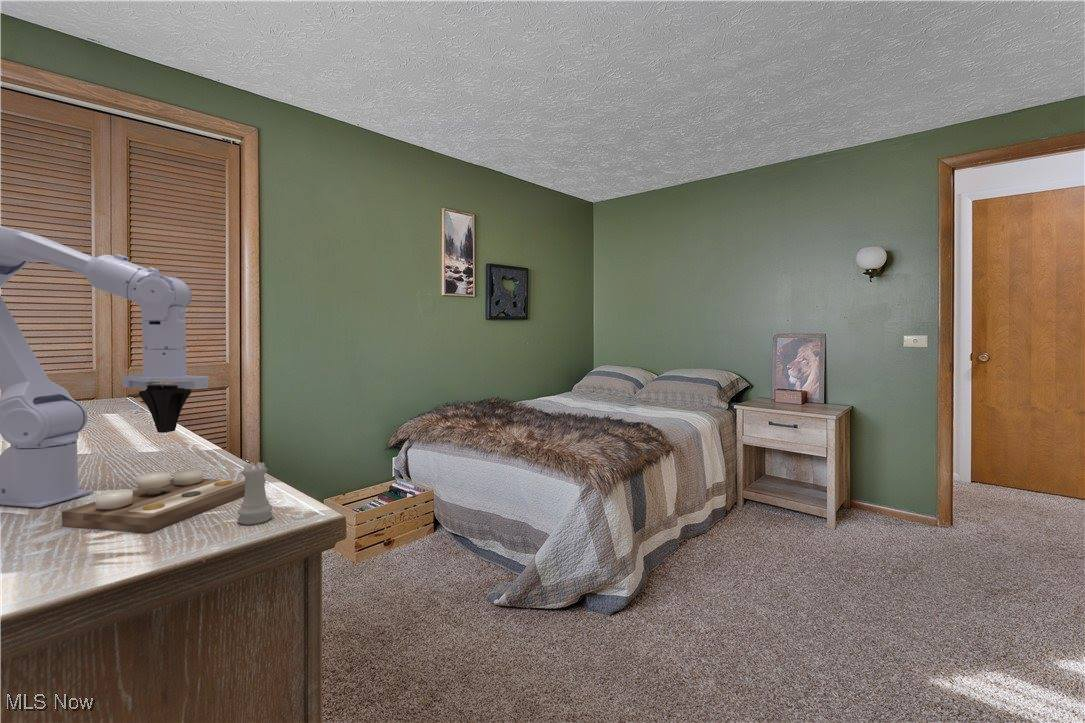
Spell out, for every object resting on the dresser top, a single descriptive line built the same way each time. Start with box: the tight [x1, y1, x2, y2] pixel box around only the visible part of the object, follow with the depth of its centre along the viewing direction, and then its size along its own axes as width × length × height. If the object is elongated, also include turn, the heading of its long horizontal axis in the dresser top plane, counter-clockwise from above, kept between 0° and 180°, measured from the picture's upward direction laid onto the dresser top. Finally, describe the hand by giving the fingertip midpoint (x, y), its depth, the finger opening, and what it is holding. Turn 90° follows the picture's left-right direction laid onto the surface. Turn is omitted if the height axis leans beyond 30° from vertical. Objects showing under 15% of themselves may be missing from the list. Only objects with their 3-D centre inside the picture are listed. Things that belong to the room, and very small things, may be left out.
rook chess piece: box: [236, 461, 274, 526], centre depth 71 cm, size 4×4×8 cm
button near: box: [94, 488, 134, 511], centre depth 71 cm, size 4×4×3 cm
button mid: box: [136, 470, 171, 495], centre depth 77 cm, size 4×4×3 cm
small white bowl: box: [172, 468, 204, 487], centre depth 83 cm, size 4×4×3 cm
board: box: [61, 478, 245, 534], centre depth 77 cm, size 14×18×2 cm
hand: (166, 431), depth 83 cm, fingers closed
